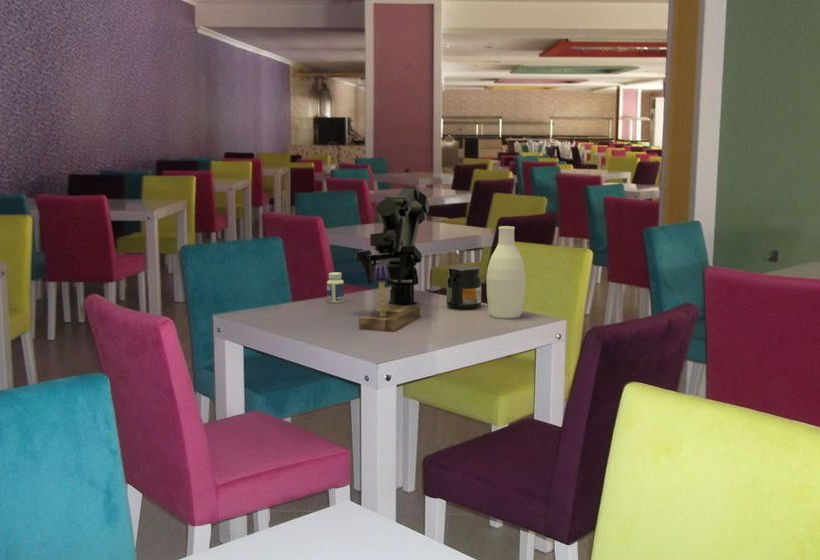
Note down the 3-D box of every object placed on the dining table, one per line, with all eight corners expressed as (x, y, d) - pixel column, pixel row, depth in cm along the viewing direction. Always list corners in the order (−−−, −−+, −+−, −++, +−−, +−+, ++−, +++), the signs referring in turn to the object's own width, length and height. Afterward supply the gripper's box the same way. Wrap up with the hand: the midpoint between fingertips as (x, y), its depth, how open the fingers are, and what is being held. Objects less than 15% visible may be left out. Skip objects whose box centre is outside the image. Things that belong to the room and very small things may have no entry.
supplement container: (487, 309, 274) (487, 269, 272) (454, 311, 271) (454, 271, 269) (472, 303, 284) (473, 264, 282) (440, 305, 280) (441, 266, 279)
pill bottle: (345, 300, 289) (345, 272, 288) (342, 303, 284) (342, 274, 283) (328, 299, 290) (328, 271, 288) (325, 302, 285) (325, 274, 283)
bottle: (531, 318, 261) (533, 228, 257) (494, 320, 258) (495, 229, 254) (515, 310, 271) (517, 224, 267) (480, 313, 268) (481, 225, 264)
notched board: (359, 328, 247) (358, 317, 247) (387, 314, 266) (387, 304, 266) (393, 331, 244) (393, 320, 243) (419, 316, 263) (419, 306, 262)
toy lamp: (383, 327, 249) (382, 266, 246) (369, 325, 252) (369, 264, 249) (394, 324, 253) (393, 264, 250) (380, 322, 256) (380, 262, 253)
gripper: (350, 224, 264) (341, 272, 257) (409, 216, 256) (401, 266, 249) (368, 243, 273) (360, 290, 266) (425, 237, 265) (418, 285, 258)
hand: (384, 282), depth 260 cm, fingers open, 9 cm apart
